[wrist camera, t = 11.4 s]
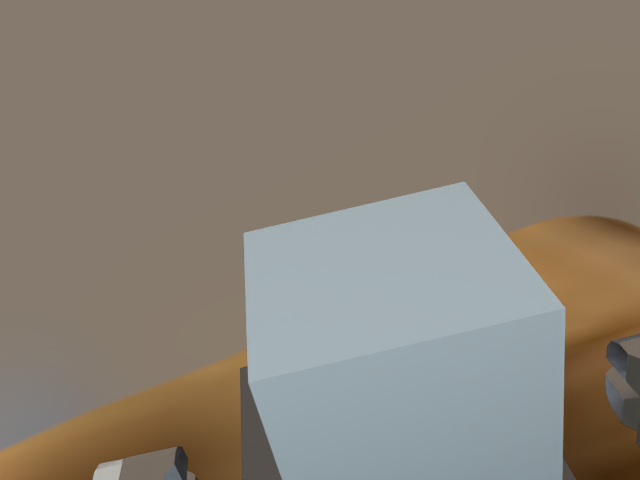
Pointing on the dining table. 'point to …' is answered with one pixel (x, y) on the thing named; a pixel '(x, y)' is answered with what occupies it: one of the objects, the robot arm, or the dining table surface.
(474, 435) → the clip
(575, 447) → the dining table surface
